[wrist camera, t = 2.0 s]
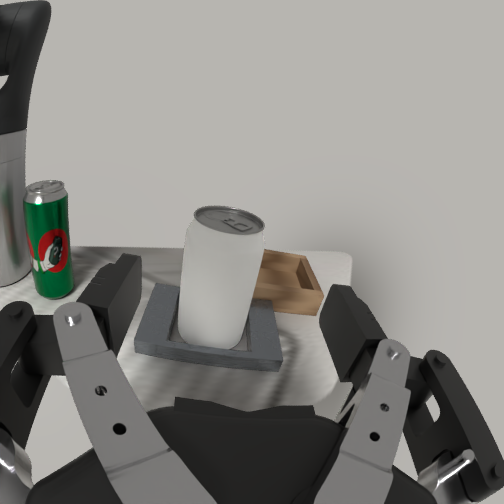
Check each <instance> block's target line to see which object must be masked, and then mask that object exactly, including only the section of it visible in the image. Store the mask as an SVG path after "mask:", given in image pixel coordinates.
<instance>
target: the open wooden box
mask: <svg viewBox="0 0 504 504" xmlns="http://www.w3.org/2000/svg"><path fill="white" fill-rule="evenodd" d="M323 297H324V295H323V292H322V290H321V288H320V286H319V284H318V281H317V279H316V277H315V275H314V273H313V271H312V269H311V267H310V264H309V262H308V260H307V258H306V256H302V255H296V254H290V253H284V252H278V251H272V250H266V249H264V253H263V257H262V261H261V265H260V269H259V273H258V277H257V281H256V285H255V289H254V293H253V296H252V298H255V299H262V300H270V301H272V304H273V309H274V311H276V312H284V313H294V314H303V315H313V316H316V314H317V312H318V310H319V307H320V305H321V302H322V300H323Z"/></svg>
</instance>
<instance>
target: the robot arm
mask: <svg viewBox="0 0 504 504" xmlns="http://www.w3.org/2000/svg"><path fill="white" fill-rule="evenodd" d="M50 17H51V6H50V3H49V2H47V1H43V0H38V1H27V2H18V3H11V4H5V5H0V76H5V75H9V76H8V79H7V81H6V83H5V84H4V86H3V87H2V88H1V89H0V287H1V286H6V285H9V284H12V283H14V282H16V281H18V280H20V279H21V278H23V277H24V276H25V275H26V274H27V273H28V272H29V271H30V270H31V263H30V258H29V252H28V245H27V238H26V231H25V222H24V211H23V198H24V196H25V193H26V191H25V189H26V187H25V149H26V132H27V129H26V128H27V118H28V109H29V100H30V94H31V88H32V83H33V78H34V74H35V70H36V66H37V62H38V59H39V55H40V52H41V49H42V46H43V43H44V40H45V36H46V33H47V30H48V26H49V22H50ZM141 292H142V260H141V256H137V255H131V254H125V253H123V254H122V255H121V256H120V258H119V259H118V260H117V262H116V263H115V264H112V263H109V264H107V265H105V266H104V267H102V268H100V270H99V271H98V272H97V274H96V275H95V277H94V278H93V279H92V280H91V282H90V283H89V284H88V286H87V287H86V288H85V290H84V291H83V292H82V294H81V295H80V297H79V298H78V299H77V301H76V302H70V303H66V304H64V305H62V306H60V307H59V308H58V309H57V310H56V311H55V312H54V315H34V312H33V308H32V306H31V305H30V304H29V303H27V302H24V301H15V302H12V303H9V304H8V305H6V306H5V307H4V308H3V309H2V310H1V311H0V504H477V503H479V502H481V501H482V500H484V499H486V498H487V497H489V496H490V495H492V494H493V493H495V492H497V491H498V490H500V489H501V488H503V486H504V460H503V458H502V455H501V453H500V451H499V449H498V446H497V444H496V442H495V440H494V438H493V436H492V434H491V432H490V430H489V428H488V426H487V424H486V422H485V420H484V418H483V416H482V414H481V412H480V410H479V408H478V406H477V405H476V403H475V401H474V399H473V398H472V396H471V394H470V392H469V391H468V389H467V387H466V385H465V384H464V382H463V380H462V379H461V377H460V375H459V374H458V372H457V370H456V369H455V367H454V365H453V364H452V363H451V361H450V359H449V358H448V357H447V356H446V355H445V354H443V353H442V352H440V351H437V350H430V351H428V352H427V353H426V355H425V356H424V358H423V359H420V358H416V357H412V356H410V353H409V351H408V350H407V348H406V347H405V346H404V345H402V344H401V343H399V342H398V341H395V340H392V339H388V338H387V337H386V335H385V333H384V332H383V330H382V328H381V327H380V325H379V323H378V322H377V321H376V319H375V317H374V315H373V314H372V312H371V311H370V309H369V308H368V306H367V305H366V304H365V303H364V302H363V301H362V300H361V299H359V298H357V296H356V294H355V293H354V291H353V290H352V288H351V287H350V286H346V285H338V284H333V285H332V286H331V288H330V290H329V293H328V295H327V298H326V300H325V303H324V306H323V308H322V311H321V313H320V318H319V324H320V328H321V331H322V333H323V336H324V339H325V341H326V344H327V347H328V349H329V352H330V355H331V357H332V360H333V363H334V365H335V368H336V371H337V374H338V376H339V379H340V382H352V384H353V385H352V387H351V388H350V390H349V392H348V394H347V396H346V398H345V400H344V402H343V404H342V406H341V408H340V411H339V412H338V414H337V416H336V418H335V420H334V421H333V420H330V419H328V418H325V417H322V416H318V415H315V411H314V407H313V405H309V406H278V407H273V408H268V409H263V410H257V411H251V412H245V411H241V410H237V409H234V408H230V407H227V406H224V405H220V404H217V403H214V402H211V401H202V400H194V399H187V398H180V397H175V403H174V406H171V407H163V408H158V409H154V410H151V411H148V412H145V410H144V408H143V407H142V405H141V403H140V402H139V400H138V398H137V396H136V395H135V393H134V391H133V389H132V388H131V386H130V384H129V382H128V380H127V378H126V376H125V375H124V373H123V371H122V369H121V367H120V365H119V363H118V361H117V359H116V358H117V356H118V353H119V351H120V348H121V346H122V343H123V341H124V338H125V336H126V333H127V331H128V328H129V326H130V324H131V321H132V319H133V316H134V314H135V312H136V310H137V307H138V305H139V302H140V299H141ZM17 361H18V362H17ZM16 362H17V364H16ZM15 364H16V365H15ZM14 366H15V367H14ZM13 368H14V370H13V371H12V369H13ZM11 372H12V373H11ZM51 375H60V376H66V378H67V381H68V384H69V387H70V390H71V393H72V396H73V399H74V402H75V404H76V407H77V410H78V412H79V415H80V418H81V420H82V422H83V425H84V427H85V429H86V432H87V434H88V437H89V439H90V441H91V443H92V445H93V448H91V449H90V450H88V451H87V452H85V453H84V454H82V455H81V456H79V457H78V458H76V459H74V460H73V461H71V462H70V463H68V464H67V465H65V466H63V467H62V468H60V469H58V470H57V471H55V472H53V473H52V474H50V475H49V476H47V477H45V478H43V479H42V480H40V481H39V482H37V483H36V484H35V485H33V482H32V479H31V476H32V474H31V469H32V468H31V461H30V458H29V456H28V455H27V453H26V452H25V451H24V450H25V447H26V444H27V440H28V437H29V434H30V431H31V428H32V424H33V422H34V419H35V416H36V413H37V410H38V408H39V405H40V402H41V400H42V397H43V395H44V392H45V390H46V387H47V385H48V382H49V380H50V378H51ZM432 395H434V397H435V399H436V401H437V403H438V405H439V408H440V416H439V418H438V420H437V421H436V422H435V423H434V421H433V418H432V416H431V414H430V412H429V410H428V407H427V405H426V401H427V400H428V399H429V398H430V397H431V396H432ZM402 430H403V433H404V436H405V439H406V441H407V444H408V447H409V450H410V453H411V456H412V459H413V462H414V465H415V468H416V471H417V475H418V480H417V481H415V480H414V479H412V478H411V477H409V476H408V475H406V474H405V473H404V472H402V471H401V470H399V469H398V468H397V467H395V466H394V465H393V461H394V458H395V455H396V451H397V448H398V444H399V441H400V437H401V434H402Z"/></svg>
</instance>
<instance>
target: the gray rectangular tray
mask: <svg viewBox="0 0 504 504" xmlns="http://www.w3.org/2000/svg"><path fill="white" fill-rule="evenodd" d="M179 297H180V287H176V286H170V285H164V284H158V283H156V284H155V287H154V289H153V292H152V294H151V297H150V299H149V302H148V304H147V307H146V309H145V312H144V314H143V317H142V320H141V322H140V325H139V328H138V330H137V333H136V336H135V339H134V346H135V352H136V353H141V354H146V355H150V356H156V357H161V358H166V359H172V360H178V361H184V362H190V363H197V364H204V365H212V366H220V367H228V368H238V369H248V370H260V371H275V372H278V371H279V369H280V367H281V365H282V362H283V357H282V351H281V346H280V341H279V336H278V330H277V325H276V320H275V315H274V309H273V304H272V301H270V300H262V299H255V298H252V300H251V304H250V308H249V312H248V315H247V319H246V334H247V350H248V352H247V351H238V350H229V349H221V348H214V347H206V346H199V345H193V344H186V343H180V342H174V341H169V338H170V334H171V330H172V326H173V322H174V318H175V314H176V310H177V306H178V303H179Z"/></svg>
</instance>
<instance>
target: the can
mask: <svg viewBox="0 0 504 504" xmlns="http://www.w3.org/2000/svg"><path fill="white" fill-rule="evenodd" d="M194 217H195V218H194V219H193V221H192V222H191V224H190V225H189V227H188V229H187V233H186V239H185V246H184V255H183V264H182V274H181V285H180V297H179V311H178V331H179V334H180V335H181V337H182V338H183V339H184V340H185V341H186V342H187V343H188V344H193V345H199V346H206V347H214V348H221V349H231V348H233V347H234V346H236V345H237V344H238V343H239V341H240V339H241V337H242V334H243V330H244V327H245V323H246V319H247V315H248V312H249V308H250V304H251V300H252V296H253V293H254V289H255V285H256V281H257V277H258V273H259V269H260V265H261V261H262V257H263V253H264V248H265V239H264V235H263V229H264V227H265V225H264V222H263V221H262V220H261V219H260V218H259V217H257V216H256V215H254V214H252V213H249V212H247V211H244V210H241V209H237V208H233V207H226V206H205V207H201V208H199V209H197V210H196V211H195V212H194Z"/></svg>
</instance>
